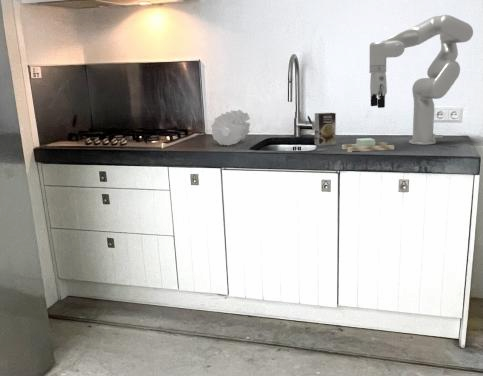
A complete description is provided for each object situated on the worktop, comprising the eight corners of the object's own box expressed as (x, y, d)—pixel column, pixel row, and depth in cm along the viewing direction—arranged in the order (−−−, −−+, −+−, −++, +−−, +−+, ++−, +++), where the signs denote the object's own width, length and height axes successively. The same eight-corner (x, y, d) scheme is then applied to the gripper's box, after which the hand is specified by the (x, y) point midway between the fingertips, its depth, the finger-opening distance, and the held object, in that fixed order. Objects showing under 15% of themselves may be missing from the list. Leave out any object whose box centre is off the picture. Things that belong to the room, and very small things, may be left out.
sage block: (370, 148, 246) (370, 138, 245) (375, 150, 240) (375, 139, 239) (356, 149, 245) (356, 138, 244) (360, 151, 239) (360, 140, 238)
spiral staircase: (218, 154, 269) (231, 144, 292) (247, 140, 263) (257, 131, 286) (202, 123, 266) (216, 116, 290) (230, 108, 260) (242, 102, 284)
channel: (385, 146, 248) (386, 142, 248) (394, 149, 239) (394, 145, 238) (341, 148, 246) (342, 144, 246) (348, 152, 237) (348, 147, 236)
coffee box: (319, 146, 257) (319, 114, 253) (314, 144, 263) (314, 113, 259) (336, 144, 259) (336, 112, 256) (330, 143, 266) (330, 112, 262)
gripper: (392, 69, 227) (392, 107, 231) (379, 68, 244) (379, 104, 248) (376, 70, 227) (376, 108, 231) (363, 69, 244) (363, 105, 248)
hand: (377, 106), depth 240 cm, fingers open, 9 cm apart
